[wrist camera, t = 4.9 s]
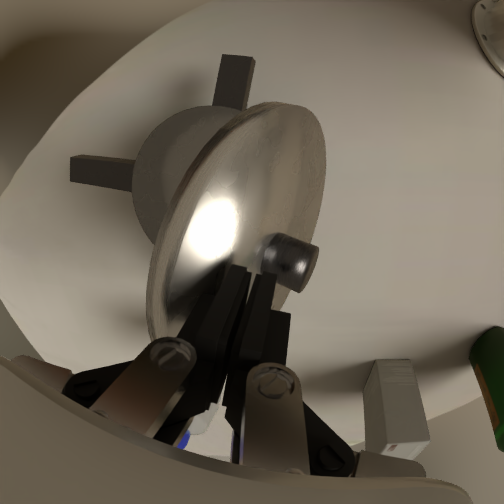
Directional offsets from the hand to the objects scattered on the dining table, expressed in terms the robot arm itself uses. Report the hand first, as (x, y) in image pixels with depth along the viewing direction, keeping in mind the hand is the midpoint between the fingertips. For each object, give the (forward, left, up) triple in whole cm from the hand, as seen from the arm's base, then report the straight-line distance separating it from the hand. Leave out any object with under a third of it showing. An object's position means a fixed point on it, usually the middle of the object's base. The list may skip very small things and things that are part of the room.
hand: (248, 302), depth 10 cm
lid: (0, -1, -5) cm, 5 cm away
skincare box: (+24, +22, -21) cm, 39 cm away
